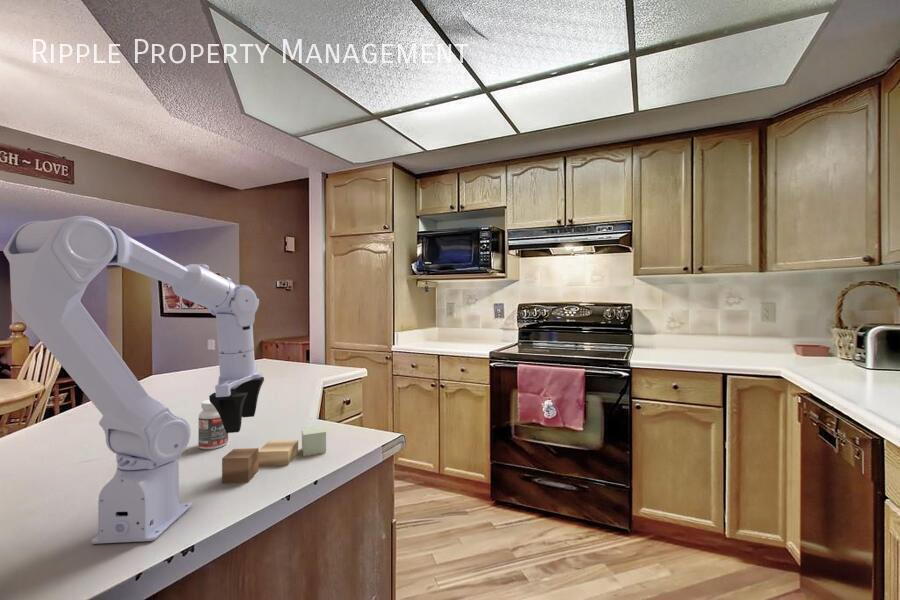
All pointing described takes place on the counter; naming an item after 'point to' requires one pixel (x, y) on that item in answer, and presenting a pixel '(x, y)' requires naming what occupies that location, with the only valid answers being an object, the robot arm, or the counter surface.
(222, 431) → the pill bottle
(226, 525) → the counter surface
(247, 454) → the walnut cube
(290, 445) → the oak block
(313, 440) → the sage block
